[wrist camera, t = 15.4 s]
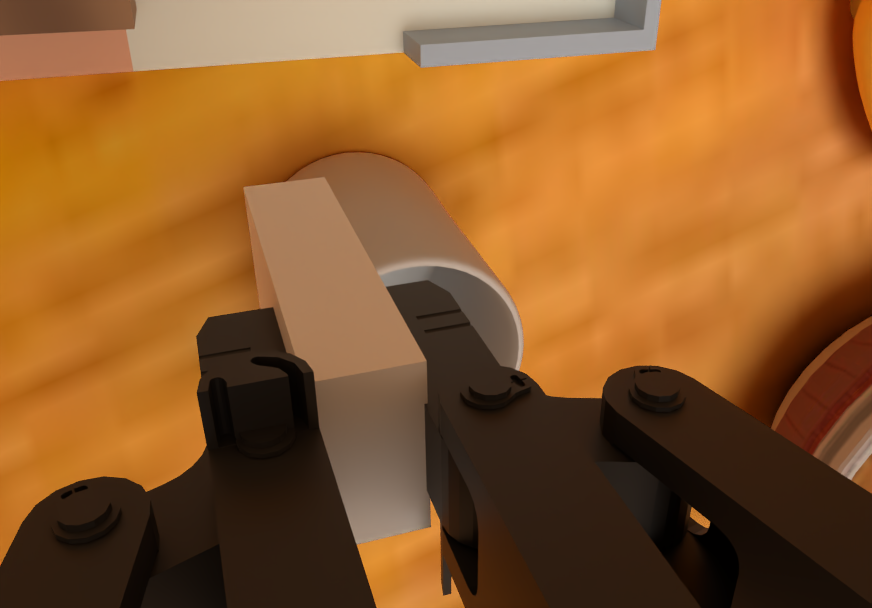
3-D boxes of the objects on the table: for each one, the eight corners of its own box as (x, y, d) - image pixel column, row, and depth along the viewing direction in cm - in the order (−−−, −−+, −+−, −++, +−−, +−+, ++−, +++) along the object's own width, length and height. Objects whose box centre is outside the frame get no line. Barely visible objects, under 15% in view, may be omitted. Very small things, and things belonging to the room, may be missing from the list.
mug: (226, 193, 36) (251, 318, 26) (410, 120, 36) (495, 217, 27) (324, 398, 42) (372, 556, 33) (478, 332, 43) (567, 468, 34)
